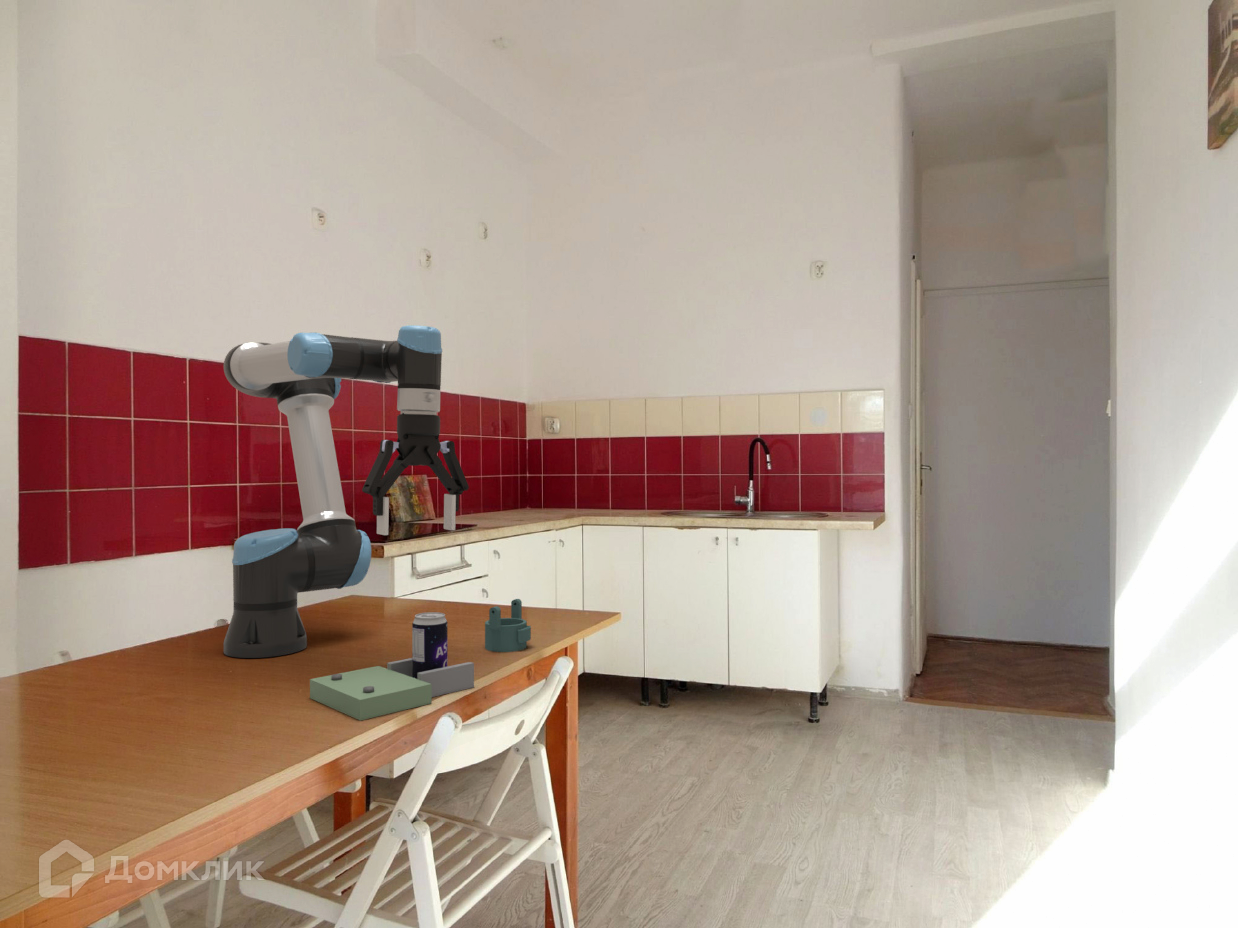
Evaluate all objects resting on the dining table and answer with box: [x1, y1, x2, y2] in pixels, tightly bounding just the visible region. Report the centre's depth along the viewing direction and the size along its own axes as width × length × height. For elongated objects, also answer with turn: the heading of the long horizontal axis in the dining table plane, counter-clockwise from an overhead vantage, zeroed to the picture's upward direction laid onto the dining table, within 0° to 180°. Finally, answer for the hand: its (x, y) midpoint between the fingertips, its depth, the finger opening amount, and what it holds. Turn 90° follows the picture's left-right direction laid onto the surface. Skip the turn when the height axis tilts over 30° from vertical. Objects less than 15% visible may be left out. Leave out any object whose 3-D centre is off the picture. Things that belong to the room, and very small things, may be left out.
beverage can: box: [411, 611, 449, 679], centre depth 140 cm, size 6×6×12 cm
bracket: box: [484, 598, 532, 653], centre depth 170 cm, size 9×9×9 cm
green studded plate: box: [309, 657, 475, 722], centre depth 136 cm, size 16×22×4 cm
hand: (416, 532), depth 152 cm, fingers open, 13 cm apart
